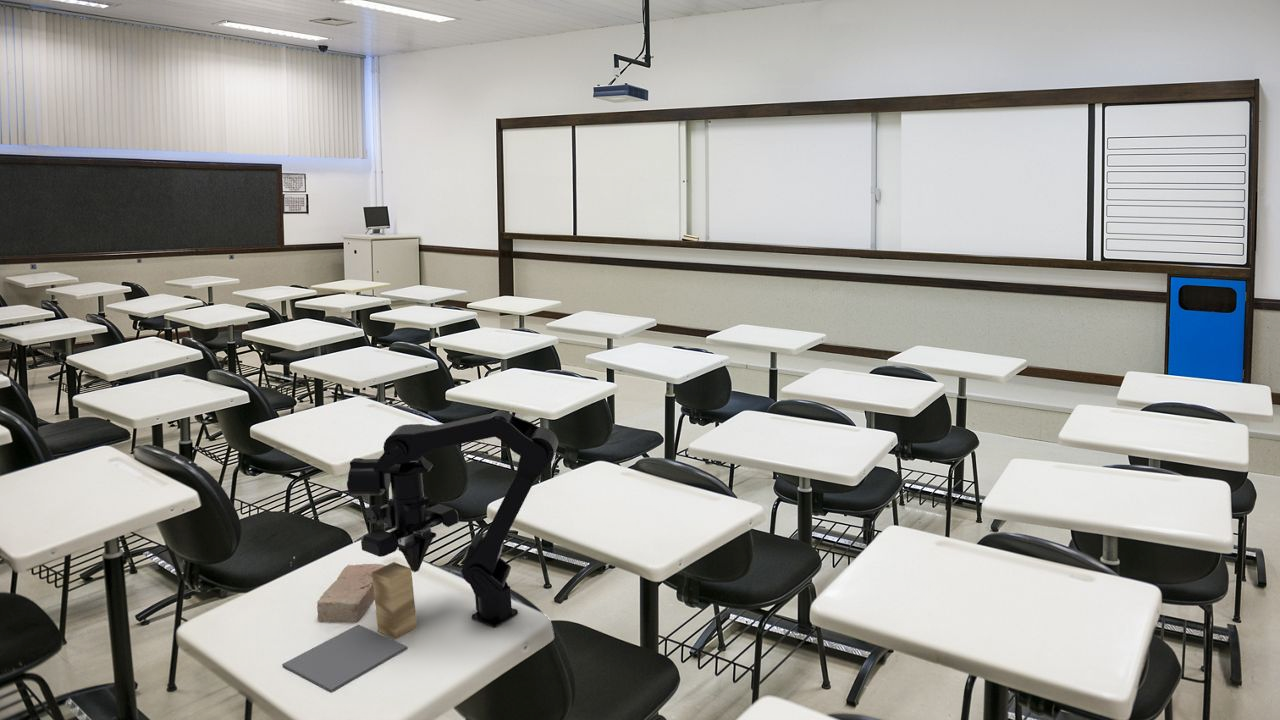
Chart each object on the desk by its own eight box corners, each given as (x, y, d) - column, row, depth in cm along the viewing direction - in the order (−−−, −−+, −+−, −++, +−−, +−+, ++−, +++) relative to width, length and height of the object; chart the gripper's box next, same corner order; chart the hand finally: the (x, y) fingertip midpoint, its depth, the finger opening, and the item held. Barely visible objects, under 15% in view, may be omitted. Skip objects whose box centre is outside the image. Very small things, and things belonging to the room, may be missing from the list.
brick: (358, 624, 173) (356, 601, 172) (316, 623, 174) (313, 601, 173) (388, 583, 189) (386, 562, 188) (349, 583, 190) (347, 562, 189)
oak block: (417, 626, 171) (412, 568, 168) (395, 639, 167) (389, 579, 164) (400, 619, 174) (394, 561, 171) (378, 631, 170) (371, 572, 167)
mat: (407, 648, 163) (407, 646, 163) (331, 692, 151) (331, 689, 151) (358, 626, 171) (358, 624, 171) (282, 666, 159) (282, 664, 159)
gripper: (418, 470, 180) (425, 543, 184) (338, 501, 166) (347, 579, 170) (457, 481, 174) (463, 556, 178) (377, 514, 159) (385, 595, 163)
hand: (415, 571), depth 172 cm, fingers closed
